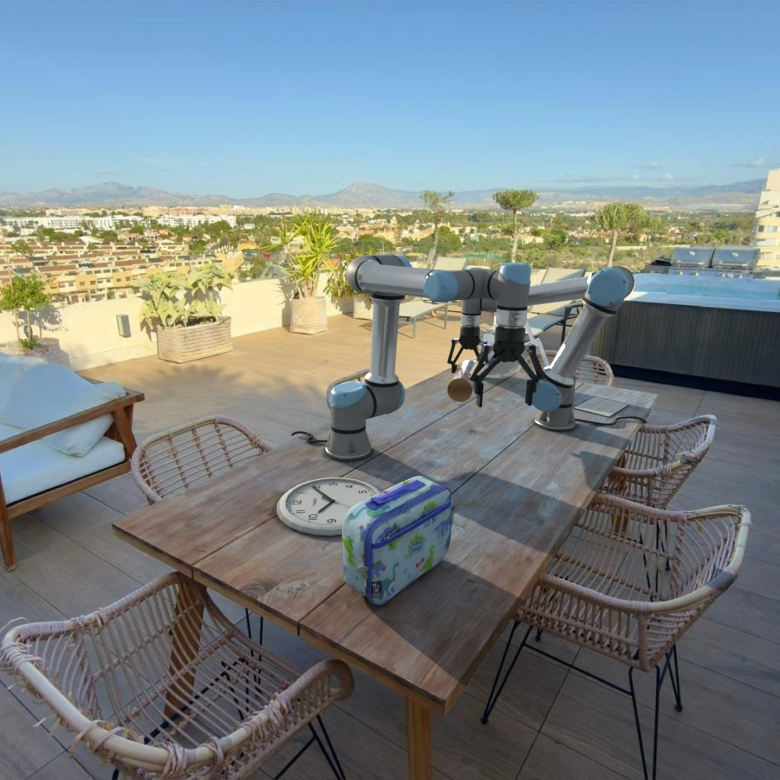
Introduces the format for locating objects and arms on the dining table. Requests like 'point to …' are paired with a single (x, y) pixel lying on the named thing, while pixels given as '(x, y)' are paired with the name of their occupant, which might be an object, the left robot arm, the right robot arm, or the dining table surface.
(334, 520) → the wall clock
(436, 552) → the lunch box
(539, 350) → the white plastic object
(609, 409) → the invitation card
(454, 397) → the rod
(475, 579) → the dining table surface
